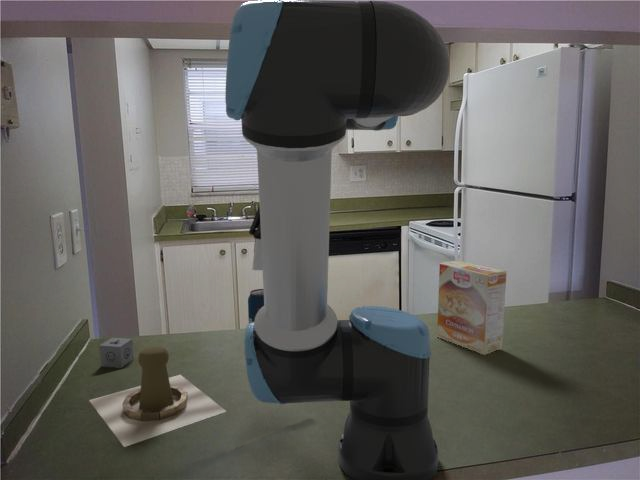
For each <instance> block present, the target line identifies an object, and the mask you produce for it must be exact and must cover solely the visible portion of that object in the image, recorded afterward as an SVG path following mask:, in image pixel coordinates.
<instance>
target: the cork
mask: <svg viewBox="0 0 640 480" xmlns="http://www.w3.org/2000/svg"><path fill="white" fill-rule="evenodd" d="M168 351H169V350H167V347H164V346H161V345H150V346H148V347H144V348H143V349H141V350H140V352H139V353H138V359H137V361H138V364H139V367H141V379H140V380H141V381H140V386H141V392H140V405H139V409H140V410H158V409H162V408H165V407H168V406H171V405H173V404H174V402H173V397H172V392H171V387H170V382H169V378H170V377H169V371H168V368H167V364H168V363H169V358H170V357H169V352H168Z"/></svg>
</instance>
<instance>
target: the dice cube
mask: <svg viewBox="0 0 640 480" xmlns="http://www.w3.org/2000/svg"><path fill="white" fill-rule="evenodd" d="M133 345H134V344H133V338H123V337H111V338H109V339H108V340H106V341H104V342H103V343H101V344H99V356H100V357H99V358H100V367H101V368H113V367H115V368H116V369H123V368H124V367H125V366H126V365H129V364H130V363H131V362H133V360H134V358H135V357H134V346H133ZM122 367H123V368H122Z"/></svg>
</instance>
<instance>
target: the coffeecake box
mask: <svg viewBox="0 0 640 480" xmlns="http://www.w3.org/2000/svg"><path fill="white" fill-rule="evenodd" d="M438 277H439V280H438V301H437V303H438V304H437V327H436V328H437V331H436V338H437V337H439V338H438V339H440V338H442V339H444V340H443V341H445V340H447V341H446V342H448V341H450V342H452V343H451V344H453V343H455V344H457V345H456V346H458V345H460V346H462V347H461V348H463V347H465V348H468V349H470V350H473V351H476V352H479V353H481V354H486V353H489V352H493V351H496V350H499V349H502V350H503V340H504V337H503V336H504V324H505V323H504V320H505V306H506V305H505V303H506V288H507V270H503V269H497V268H493V267H490V266H485V265H480V264H475V263H471V262H467V261H462V260H459V259H458V260H453V261H443V262H440V263H439V275H438ZM442 339H441V340H442ZM450 342H449V343H450ZM455 344H454V345H455ZM460 346H459V347H460ZM465 348H464V349H465ZM468 349H467V350H468ZM470 350H469V351H470ZM473 351H472V352H473ZM493 353H494V352H493ZM481 354H480V355H481Z"/></svg>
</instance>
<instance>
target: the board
mask: <svg viewBox="0 0 640 480" xmlns="http://www.w3.org/2000/svg"><path fill="white" fill-rule="evenodd" d="M169 382H170V385H175V386H180V387H182V388H183V389H184V390H186V391H187V392H188V402H187V406H186V408H185V409H183V410H182V411H181V412H179V413H178V414H177V415H174V416H171V417H168V418H165V419H162V420H156V421H137V420H133V419H129V418H128V417H127V416H126V415H125V414H124V413H123V405H122V404H123V402H124V400H125V397H126V396H128V395H129V394H131V393H132V392H134V391H136V390H138V389H141V385H138V386H135V387H131V388H128V389H124V390H120V391H117V392H112V393H110V394H106V395H103V396H99V397H95V398H92V399H89V400H88V401H89V403H91V404H90V405H92V407H93V408H94V409H95V410H96V411H97V413H98V415H99V417H101V419H102V420H103V421H104V422H105V424H106V425H107V427H109V430H110V431H111V432H112V433H113V434H114V436H115V438H116V439H117V440H118V441H119V442H120V444H121V445H122V446H123V448H126V447H129V446H132V445H135V444H138V443H141V442H144V441H147V440H149V439H152V438H155V437H158V436H161V435H163V434H166V433H169V432H173V431H176V430H178V429H181V428H184V427H186V426H187V427H188V426H190V425H192V424H197V423H199V422H201V421H204V420H207V419H210V418H212V417H216V416H218V415H221V414H224V413H227V412H228V411H227V410H226V409H224V408H223V407H222V406H220V405H219V404H218V403H216V402H215V400H214V399H212V398H211V397H209V396H208V395H207V394H205V393H204V392H203V391H202V390H201V389H199V388H198V387H196V386H195V385H194V384H193V383H192V382H191V381H189V380H188V379H187V378H186V377H184V376H182V374H177V375H173V376H170V377H169ZM172 397H173V402H174V403H176V402H177V401H179V400H180V398H179V397H177V396H174V395H172ZM139 405H140V400H138V401H136V402H135V403H133V404H132V405H131V406H132V407H133V408H135V409H139Z"/></svg>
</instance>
